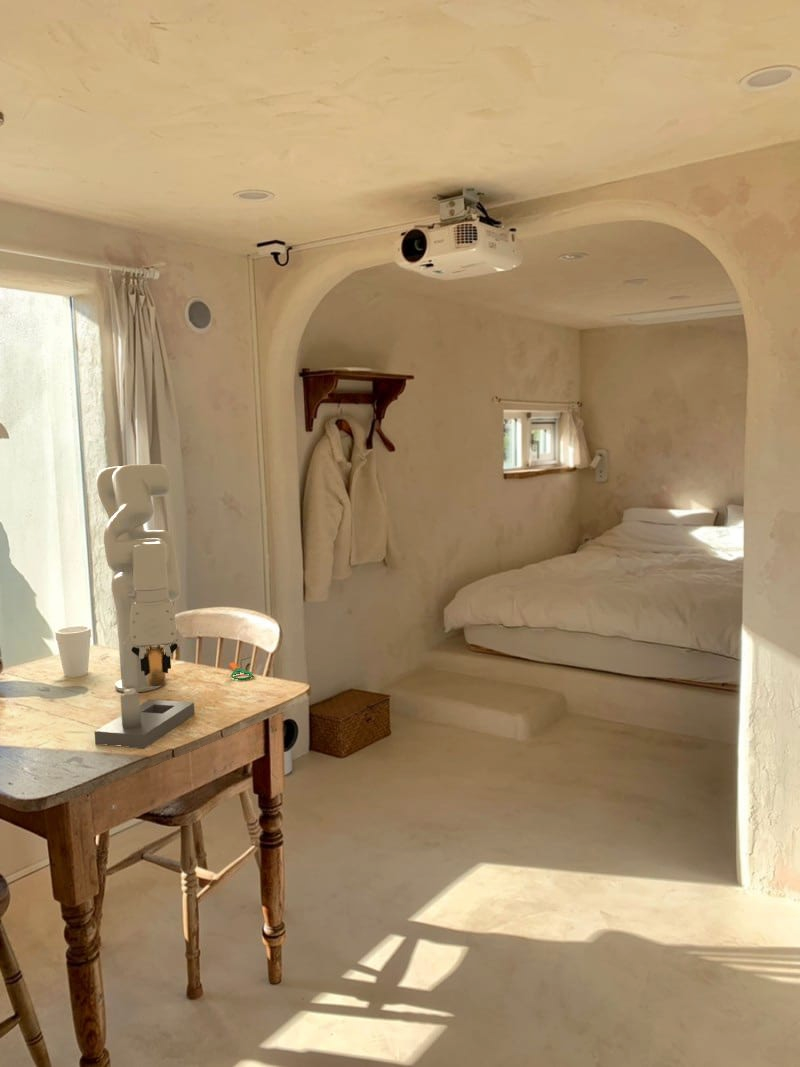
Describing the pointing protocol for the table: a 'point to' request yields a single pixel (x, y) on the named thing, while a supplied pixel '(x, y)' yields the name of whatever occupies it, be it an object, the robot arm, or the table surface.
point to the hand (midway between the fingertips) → (156, 672)
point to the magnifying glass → (237, 671)
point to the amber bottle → (155, 665)
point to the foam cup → (74, 649)
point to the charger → (143, 721)
